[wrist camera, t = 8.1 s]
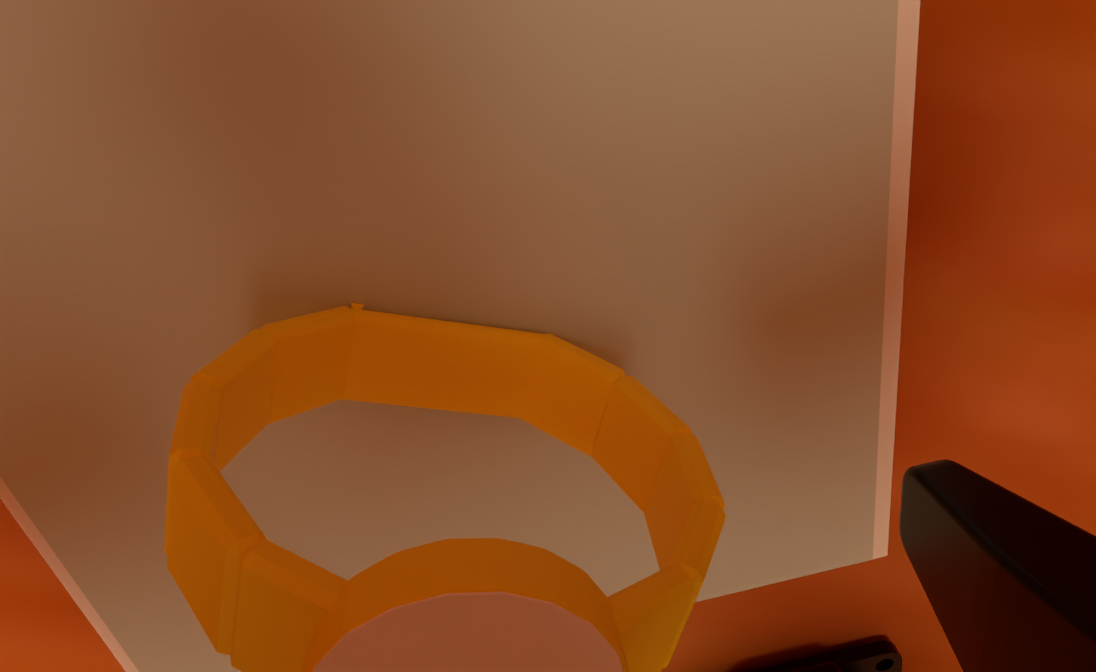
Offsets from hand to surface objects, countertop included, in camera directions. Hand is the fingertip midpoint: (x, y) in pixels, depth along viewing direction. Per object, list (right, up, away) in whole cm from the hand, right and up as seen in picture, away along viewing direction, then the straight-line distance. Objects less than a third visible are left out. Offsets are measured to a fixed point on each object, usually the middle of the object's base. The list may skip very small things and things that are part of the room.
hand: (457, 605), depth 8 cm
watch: (-1, +2, +4) cm, 5 cm away
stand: (-1, +4, +7) cm, 9 cm away
